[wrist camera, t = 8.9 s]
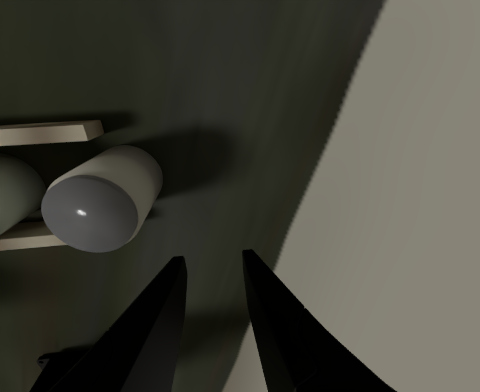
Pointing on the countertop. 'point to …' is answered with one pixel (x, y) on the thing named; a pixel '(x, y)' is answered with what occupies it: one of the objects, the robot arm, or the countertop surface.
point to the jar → (103, 199)
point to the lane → (38, 134)
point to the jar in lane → (18, 191)
